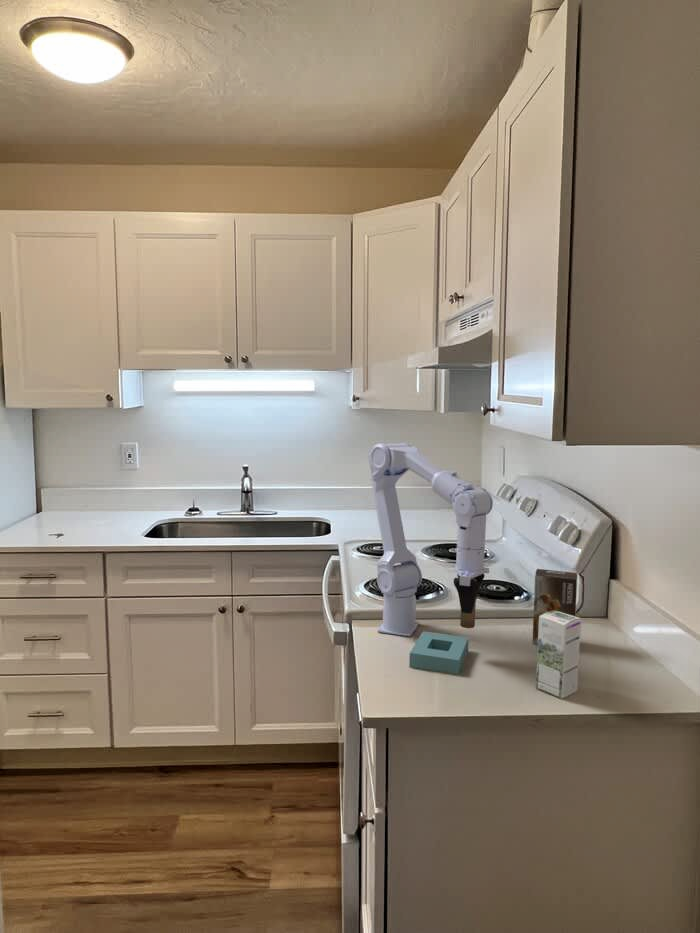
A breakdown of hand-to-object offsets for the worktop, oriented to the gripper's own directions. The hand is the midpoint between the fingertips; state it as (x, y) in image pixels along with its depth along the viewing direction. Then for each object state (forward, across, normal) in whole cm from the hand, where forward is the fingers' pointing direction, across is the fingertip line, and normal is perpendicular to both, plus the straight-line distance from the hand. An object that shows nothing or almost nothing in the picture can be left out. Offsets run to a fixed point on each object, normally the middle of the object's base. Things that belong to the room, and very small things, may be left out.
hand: (467, 610), depth 134 cm
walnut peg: (+3, 0, 0) cm, 3 cm away
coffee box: (+10, +16, -18) cm, 26 cm away
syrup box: (+10, -10, -18) cm, 23 cm away
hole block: (+10, -3, +5) cm, 12 cm away
